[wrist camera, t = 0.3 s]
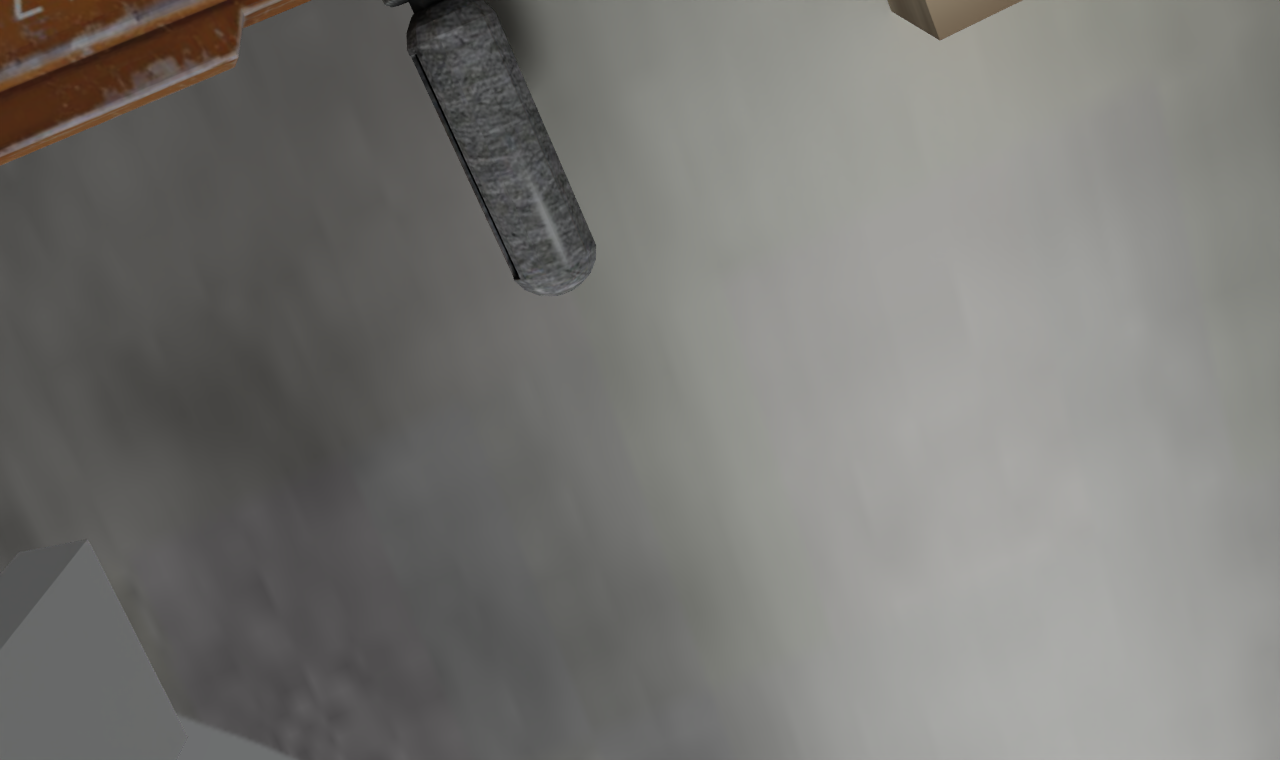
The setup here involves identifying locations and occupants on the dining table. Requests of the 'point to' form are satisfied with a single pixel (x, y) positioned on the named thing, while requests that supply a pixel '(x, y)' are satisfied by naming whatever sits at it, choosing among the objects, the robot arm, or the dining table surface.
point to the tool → (210, 43)
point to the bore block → (947, 13)
